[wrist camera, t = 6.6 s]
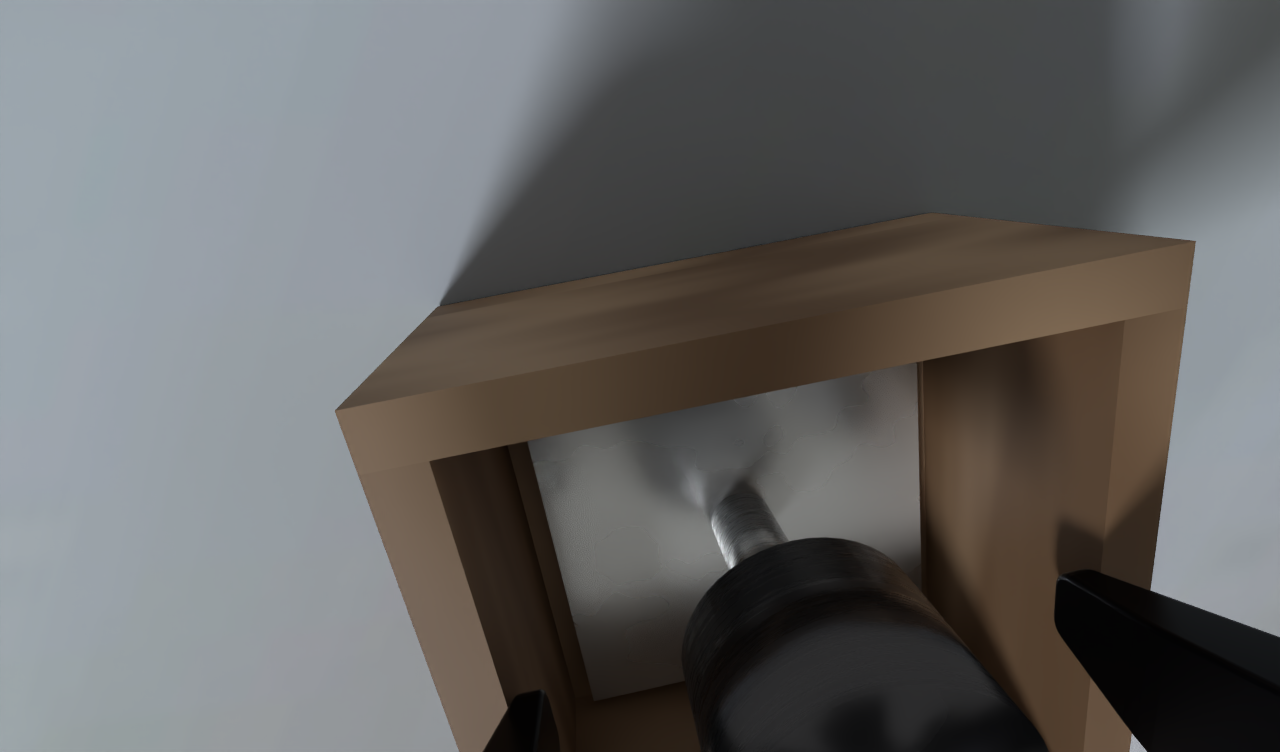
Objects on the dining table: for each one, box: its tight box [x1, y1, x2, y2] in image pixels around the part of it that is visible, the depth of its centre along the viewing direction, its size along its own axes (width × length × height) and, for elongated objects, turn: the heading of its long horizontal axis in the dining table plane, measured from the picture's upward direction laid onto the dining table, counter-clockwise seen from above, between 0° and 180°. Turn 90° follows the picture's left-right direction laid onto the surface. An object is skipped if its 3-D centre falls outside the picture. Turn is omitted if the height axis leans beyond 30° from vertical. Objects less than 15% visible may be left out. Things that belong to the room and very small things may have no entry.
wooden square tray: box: [335, 213, 1196, 752], centre depth 11 cm, size 10×10×6 cm
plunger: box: [527, 362, 1049, 752], centre depth 10 cm, size 7×7×7 cm
